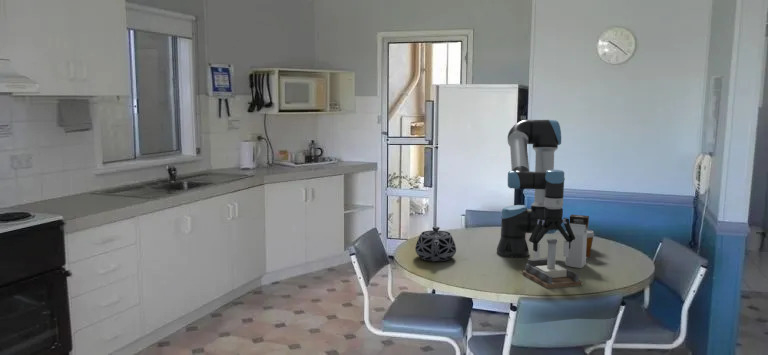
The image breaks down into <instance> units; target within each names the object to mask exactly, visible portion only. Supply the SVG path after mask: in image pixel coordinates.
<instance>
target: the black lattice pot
mask: <svg viewBox="0 0 768 355" xmlns="http://www.w3.org/2000/svg"><path fill="white" fill-rule="evenodd" d="M414 248H415V253H416V254H417V256H418V257H419V258H420V259H421V258H422V260H423V259H424V260H423V261H427V262H435V261H439V262H446V261H449V260H451V259H452V258H453V257H454V256H455V255H456V252H457V247H456V242H455V240H454V238H453V236H452V234H451V233H450V232H449V231H445V230H440V227H439V226H432V230H424V231H422V232H421V233H420V234H419V235H418V239H417V241H416V244H415V247H414Z"/></svg>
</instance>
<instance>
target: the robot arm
mask: <svg viewBox="0 0 768 355" xmlns="http://www.w3.org/2000/svg"><path fill="white" fill-rule="evenodd" d="M507 144H508V146H509V147H510V164H511V170H510V171H508V173H507V188H509V189H516V190H534V198H533V199H534V201H533V202H532V203H531V204H530V208H528V206H526V205H524V204H522V205H521V204H516V205H515V204H514V205H508V206H505V207H504V208H502V210H501V216H500V219H501V220H500V221H501V224H500V239H499V241H498V244H497V247H496V254H497V255H498V256H502V257H507V258H524V257H527V256H528V255H529V250H530V249H529V246H528V243H527V239H526V234H531V235H530V237H529V239H528V242H530V243H533V244H532V251H534V258H533V259H537V260H539V258H540V248H541V244H540V242H541V240H543V238H544V236H546V235H548V234H550V235H551V234H552V235H553V234H555V233H556V231H559V232H560V234H561V236H562V237H563V238H564V241H563V250H562V251H563V254H562V255H563V257H565V258H566V257H568V254H569V249H570V244H571V242H572V240H575V236H574V234H573V232H572V229H571V227H570V218H567V217H563V216H564V209H563V207H564V191H565V190H564V189H565V171H563V170H561V169H555V152H556V151H557V150H558V147H559V146H560V145H562V130H561V125H560V123H559V121H558V120H556V119H555V120H554V119H523V120H521V121H520V120H519V121H518V122H516V123H515V124H514V125H512V127H511V128H510V130H509V132H508V134H507ZM528 145H532V150H534V152H535V162H534V163H535V167H534V169H535V170H534V171H530V165H529V164H530V163H529V154H528ZM562 224H563V226H564V227H563V226H562ZM564 228H565V229H564ZM567 233H568V235H569V236H568V235H567Z"/></svg>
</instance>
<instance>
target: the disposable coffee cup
mask: <svg viewBox="0 0 768 355" xmlns="http://www.w3.org/2000/svg"><path fill="white" fill-rule="evenodd" d="M594 236H595V232H594V231H593V230H592V229H588V230H587V246H586V258H589V257H591V251H592V245H593V239H594Z"/></svg>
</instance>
